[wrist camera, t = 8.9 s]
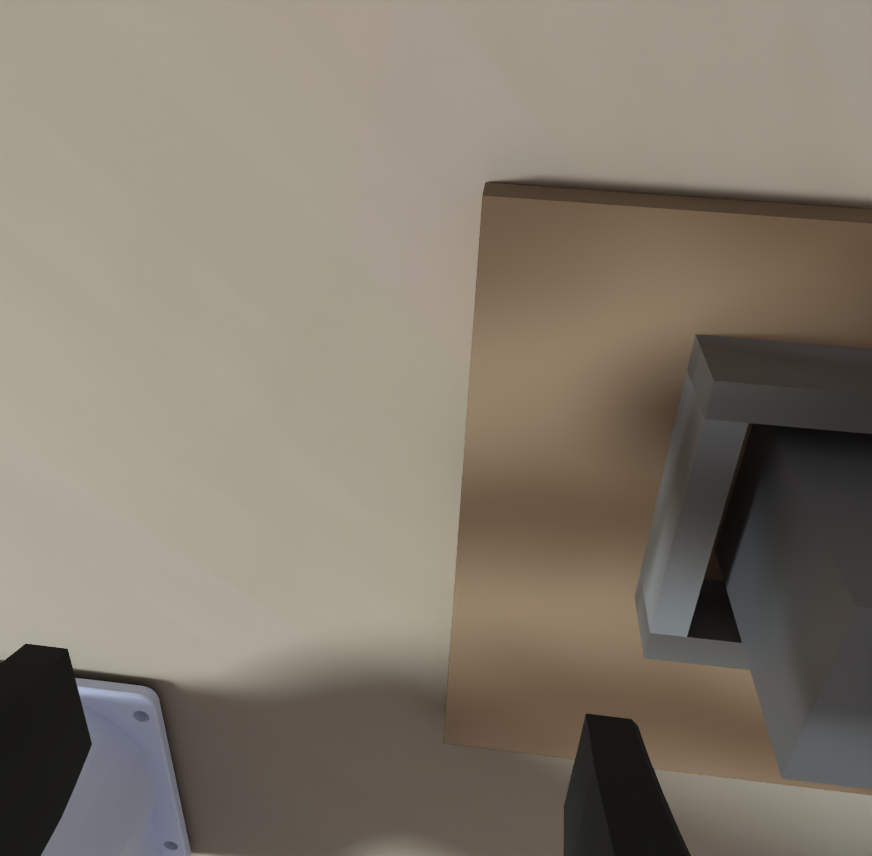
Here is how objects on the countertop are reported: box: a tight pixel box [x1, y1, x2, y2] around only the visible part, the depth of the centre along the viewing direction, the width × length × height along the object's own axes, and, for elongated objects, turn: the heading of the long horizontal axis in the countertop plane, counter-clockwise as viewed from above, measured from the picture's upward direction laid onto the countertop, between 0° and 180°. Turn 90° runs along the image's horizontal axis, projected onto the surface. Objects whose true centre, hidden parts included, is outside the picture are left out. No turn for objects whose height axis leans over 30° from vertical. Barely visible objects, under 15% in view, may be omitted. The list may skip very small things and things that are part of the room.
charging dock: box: [443, 182, 872, 795], centre depth 18 cm, size 16×14×3 cm
